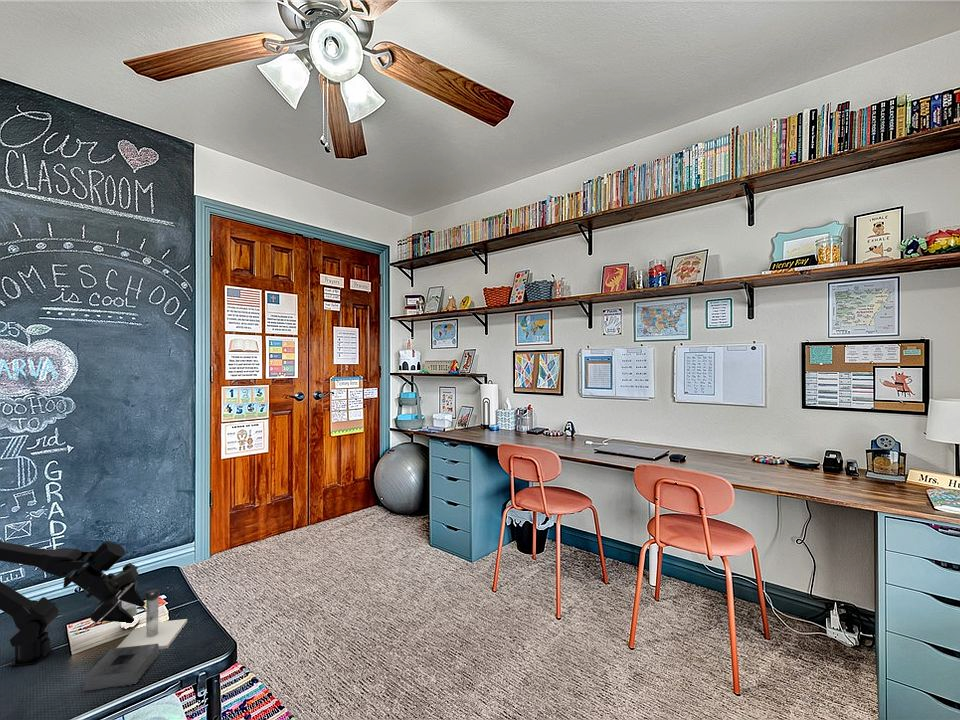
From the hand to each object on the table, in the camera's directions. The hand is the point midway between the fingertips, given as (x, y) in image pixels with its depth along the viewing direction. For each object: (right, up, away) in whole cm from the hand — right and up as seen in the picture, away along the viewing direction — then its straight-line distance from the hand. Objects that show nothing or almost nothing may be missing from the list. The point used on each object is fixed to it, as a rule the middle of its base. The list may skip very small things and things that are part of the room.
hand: (138, 613), depth 140 cm
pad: (+3, -8, +1) cm, 9 cm away
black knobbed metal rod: (+3, -7, +1) cm, 8 cm away
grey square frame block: (+7, -8, -14) cm, 18 cm away
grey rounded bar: (-15, -9, +14) cm, 23 cm away
